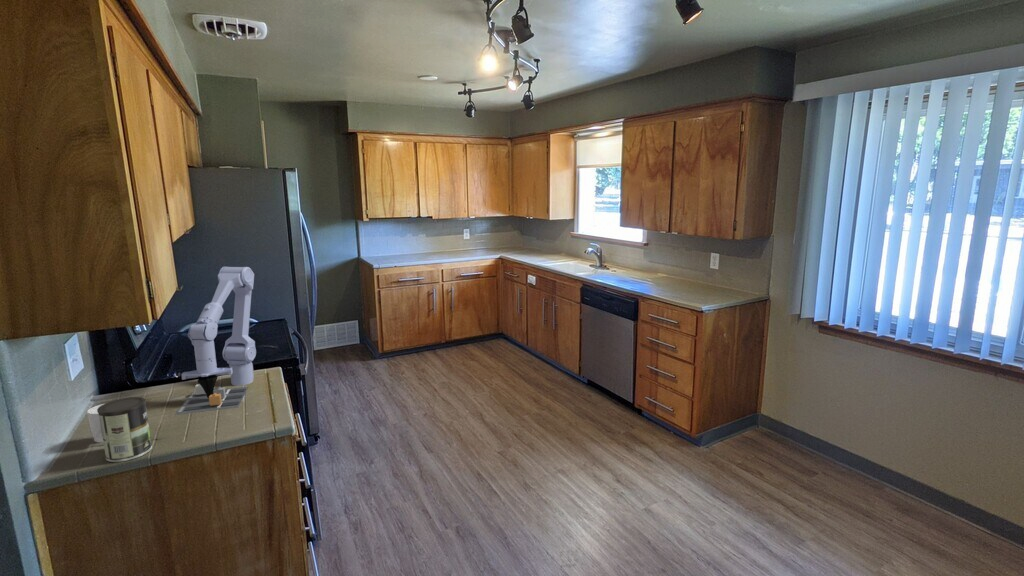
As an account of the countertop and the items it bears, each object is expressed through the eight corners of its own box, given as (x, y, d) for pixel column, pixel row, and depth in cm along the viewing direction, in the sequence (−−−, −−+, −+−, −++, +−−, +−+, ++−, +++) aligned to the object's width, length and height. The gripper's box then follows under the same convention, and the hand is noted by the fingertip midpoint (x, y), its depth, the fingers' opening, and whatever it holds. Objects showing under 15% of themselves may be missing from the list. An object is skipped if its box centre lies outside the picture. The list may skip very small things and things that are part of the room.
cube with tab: (197, 392, 173) (196, 383, 172) (207, 391, 174) (206, 382, 173) (195, 394, 171) (194, 385, 170) (205, 393, 172) (204, 384, 171)
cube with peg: (215, 396, 169) (214, 386, 169) (225, 395, 170) (224, 385, 170) (214, 398, 168) (213, 388, 167) (224, 397, 169) (223, 387, 168)
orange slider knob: (211, 403, 164) (210, 393, 163) (221, 402, 165) (220, 392, 164) (209, 405, 162) (208, 395, 161) (220, 404, 163) (219, 394, 162)
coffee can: (148, 440, 143) (141, 393, 141) (155, 452, 136) (149, 404, 133) (102, 452, 136) (94, 404, 133) (108, 466, 129) (99, 415, 126)
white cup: (121, 431, 148) (116, 400, 146) (131, 439, 144) (126, 406, 142) (88, 442, 142) (82, 409, 140) (97, 450, 137) (92, 416, 136)
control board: (191, 396, 175) (191, 392, 175) (248, 389, 180) (248, 386, 180) (174, 418, 157) (174, 414, 157) (238, 410, 163) (238, 406, 162)
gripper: (176, 364, 160) (181, 404, 162) (227, 359, 164) (231, 398, 167) (183, 357, 166) (188, 396, 169) (232, 353, 171) (236, 390, 173)
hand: (210, 396), depth 168 cm, fingers closed
